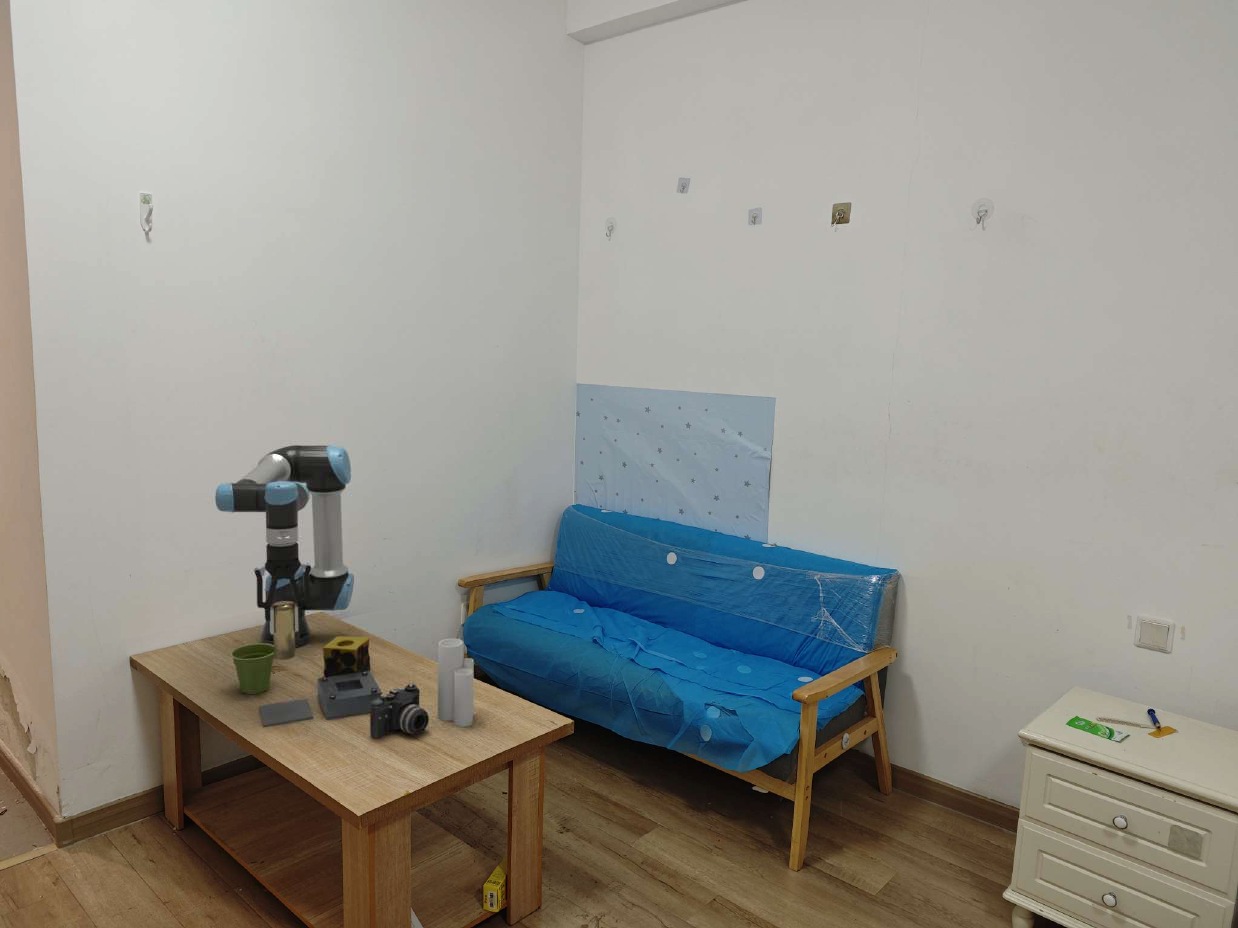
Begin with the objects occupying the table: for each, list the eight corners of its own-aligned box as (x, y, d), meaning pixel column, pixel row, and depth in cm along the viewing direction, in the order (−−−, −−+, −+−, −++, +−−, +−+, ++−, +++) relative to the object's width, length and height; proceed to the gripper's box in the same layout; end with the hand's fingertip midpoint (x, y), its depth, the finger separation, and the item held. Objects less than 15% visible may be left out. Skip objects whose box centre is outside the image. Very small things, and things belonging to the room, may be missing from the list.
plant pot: (224, 688, 228) (222, 650, 226) (266, 677, 237) (265, 640, 235) (242, 702, 220) (241, 662, 218) (285, 690, 229) (284, 651, 227)
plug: (273, 654, 213) (271, 602, 211) (293, 651, 216) (293, 599, 214) (275, 661, 209) (273, 607, 207) (296, 658, 211) (295, 605, 209)
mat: (258, 708, 217) (258, 705, 217) (307, 700, 223) (307, 698, 223) (263, 727, 207) (263, 724, 206) (313, 718, 212) (313, 716, 212)
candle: (371, 669, 245) (370, 637, 244) (357, 682, 236) (356, 649, 234) (338, 667, 246) (337, 635, 245) (323, 680, 236) (322, 647, 235)
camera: (396, 748, 199) (396, 709, 197) (365, 735, 204) (365, 697, 203) (439, 727, 210) (439, 690, 209) (409, 715, 216) (409, 679, 215)
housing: (317, 695, 226) (317, 676, 225) (369, 687, 232) (369, 668, 232) (326, 719, 212) (326, 699, 211) (382, 710, 218) (382, 690, 218)
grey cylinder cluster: (432, 716, 216) (432, 643, 213) (451, 707, 222) (451, 636, 219) (464, 728, 210) (465, 653, 207) (483, 718, 216) (484, 645, 213)
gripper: (244, 549, 201) (246, 640, 204) (322, 543, 209) (323, 631, 212) (242, 542, 207) (244, 630, 210) (317, 537, 216) (319, 622, 219)
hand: (284, 630), depth 211 cm, fingers closed on plug, 5 cm apart
